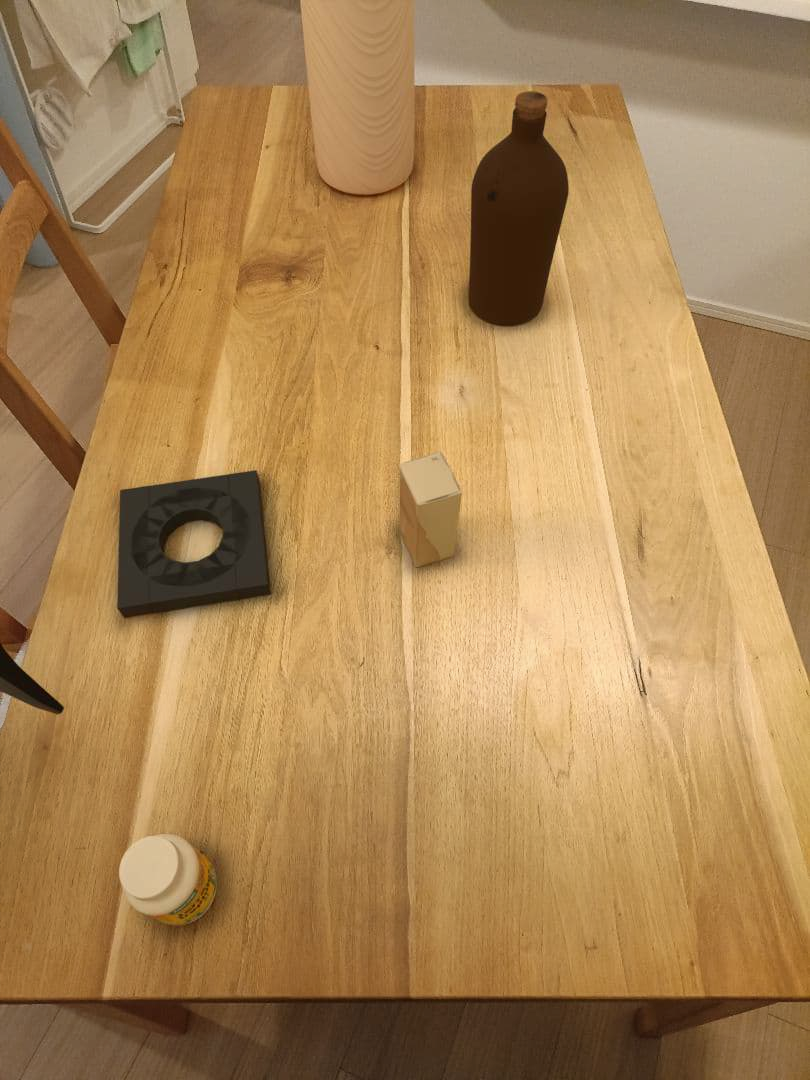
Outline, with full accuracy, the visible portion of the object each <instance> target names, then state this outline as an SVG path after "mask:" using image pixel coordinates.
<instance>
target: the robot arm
mask: <svg viewBox="0 0 810 1080" xmlns="http://www.w3.org/2000/svg"><path fill="white" fill-rule="evenodd" d="M0 692H1V693H3V694H6V695H7V696H9V697H12V698H14V699H16V700H18V701H20V702H23V703H25V704H27V705H29V706H31V707H33V708H35V709H38V710H42V711H45V712H48V713H51V714H54V715H60V714H62V713H63V712H64V710H65V707H64V706H63V704H62V703H60V702H59V701H58V700H57V699H56V698H55V697H54V696H53V695H51V694H50V693H49V692H48V691H47V690H46V689H45V688H44V687H43V686H41V685H40V684H39V683H38V682H37V681H36V680H35V679H34V678H33V677H31V676H30V675H29V674H28V673H27V672H26V671H25V670H24V669H23V668H21V666H20V665H19V664H17V662H16V661H15V660H14V659H13V657H12V656H11V655H10V654H9V653H8V652H7V651H6V649H5V648H4V646H3V644H2V642H0Z"/></svg>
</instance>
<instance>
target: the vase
mask: <svg viewBox="0 0 810 1080" xmlns="http://www.w3.org/2000/svg"><path fill="white" fill-rule="evenodd" d="M299 2H300V12H301V13H300V14H301V23H302V25H301V26H302V35H303V45H304V55H305V56H304V57H305V66H306V77H307V87H308V96H309V107H310V119H311V129H312V138H313V147H314V154H315V161H316V167H317V171H318V174H319V176H320V178H321V179H322V180H323V181H324V182H325V183H326V184H327V185H329V186H330V187H331V188H333V189H334V190H335V189H336V190H337V191H340V192H343V193H347V194H351V195H358V196H367V195H368V196H369V195H377V194H383V193H385V192H389V191H391V190H394V189H396V188H397V187H399V186H400V185H402V184H403V183H405V182H406V180H407V179H408V178H409V177H410V176H411V174H412V172H413V169H414V167H413V166H414V159H415V0H300V1H299Z"/></svg>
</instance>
